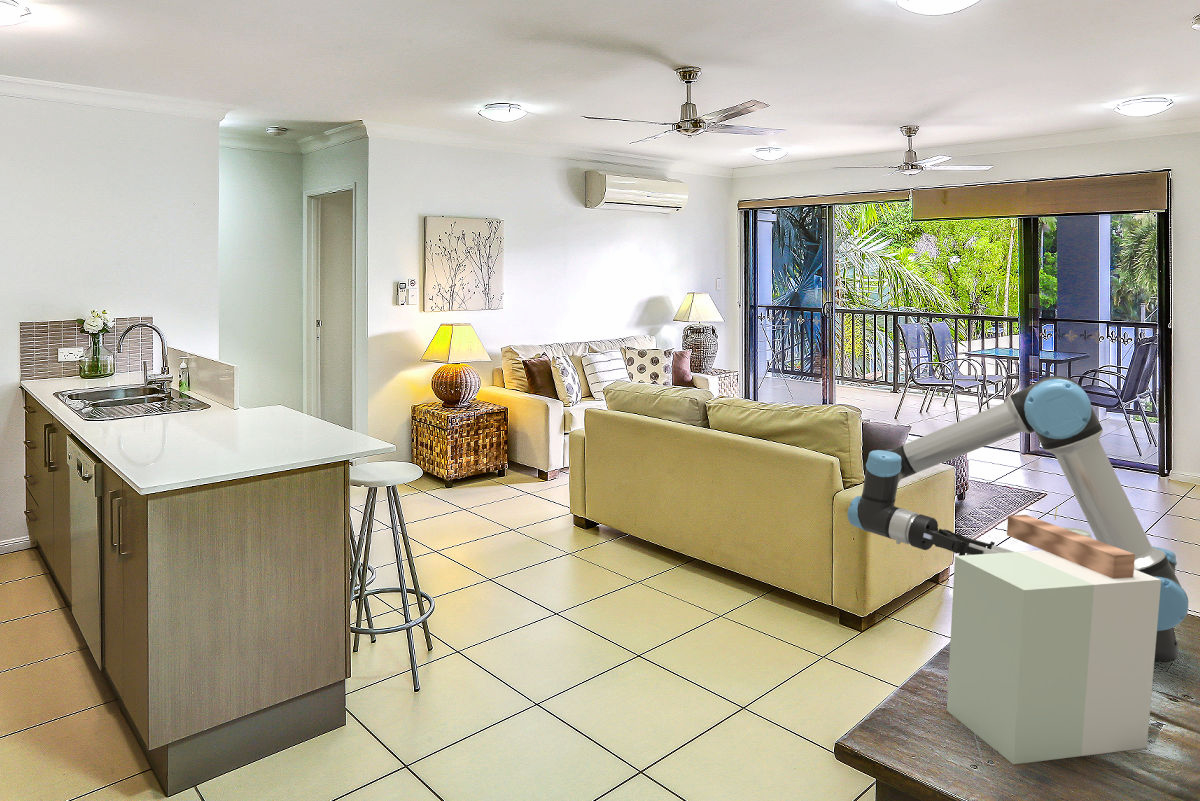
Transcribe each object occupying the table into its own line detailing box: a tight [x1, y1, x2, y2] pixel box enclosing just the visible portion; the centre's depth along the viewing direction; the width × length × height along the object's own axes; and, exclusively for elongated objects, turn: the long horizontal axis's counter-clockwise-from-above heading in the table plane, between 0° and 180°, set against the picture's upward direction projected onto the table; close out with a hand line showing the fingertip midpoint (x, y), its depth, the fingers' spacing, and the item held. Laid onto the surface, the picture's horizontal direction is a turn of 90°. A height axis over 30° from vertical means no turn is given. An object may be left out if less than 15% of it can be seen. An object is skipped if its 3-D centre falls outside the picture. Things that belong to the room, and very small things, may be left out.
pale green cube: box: [946, 549, 1161, 765], centre depth 141 cm, size 18×26×30 cm
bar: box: [1006, 514, 1135, 579], centre depth 147 cm, size 26×4×4 cm, turn 11°
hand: (1012, 560), depth 166 cm, fingers open, 13 cm apart
